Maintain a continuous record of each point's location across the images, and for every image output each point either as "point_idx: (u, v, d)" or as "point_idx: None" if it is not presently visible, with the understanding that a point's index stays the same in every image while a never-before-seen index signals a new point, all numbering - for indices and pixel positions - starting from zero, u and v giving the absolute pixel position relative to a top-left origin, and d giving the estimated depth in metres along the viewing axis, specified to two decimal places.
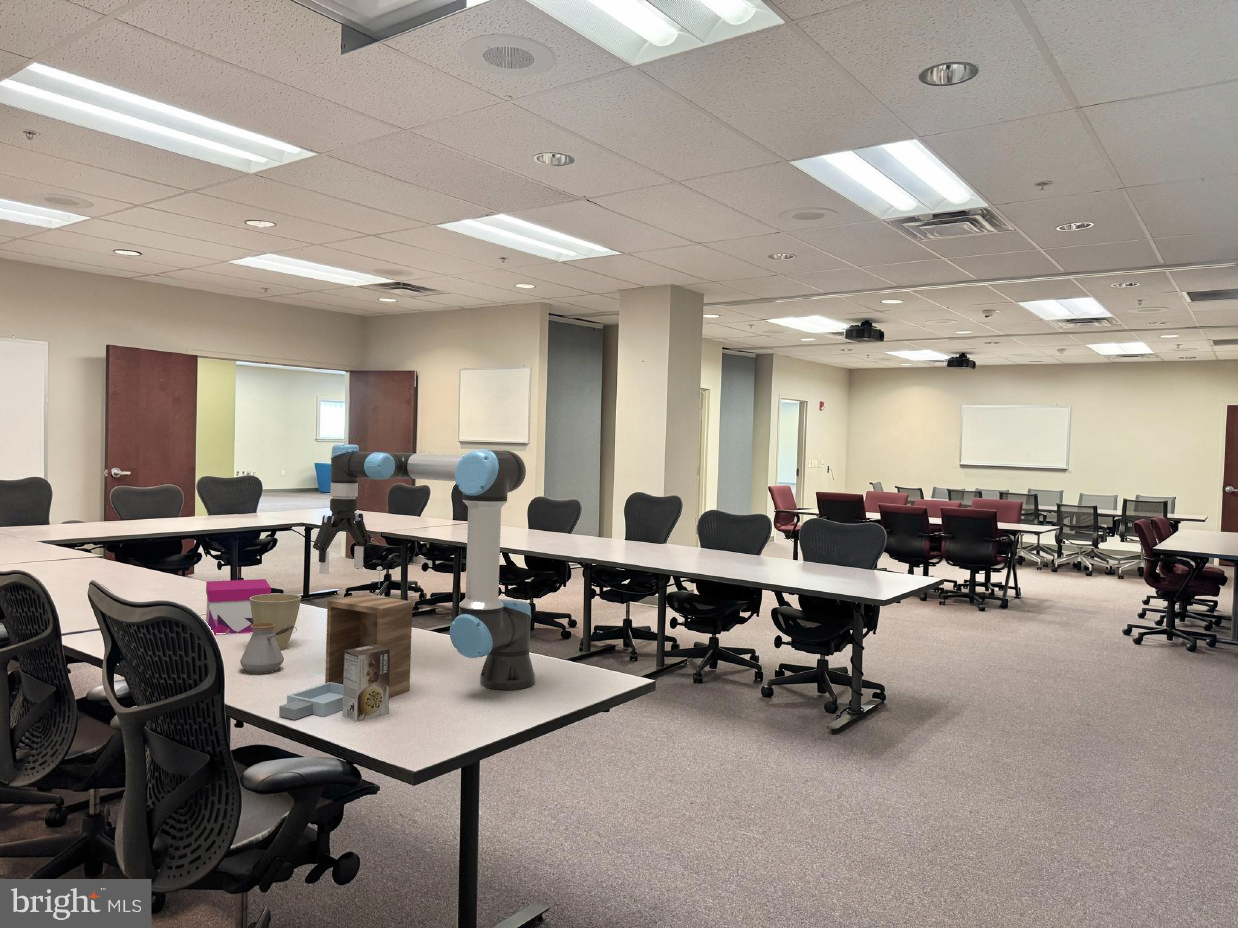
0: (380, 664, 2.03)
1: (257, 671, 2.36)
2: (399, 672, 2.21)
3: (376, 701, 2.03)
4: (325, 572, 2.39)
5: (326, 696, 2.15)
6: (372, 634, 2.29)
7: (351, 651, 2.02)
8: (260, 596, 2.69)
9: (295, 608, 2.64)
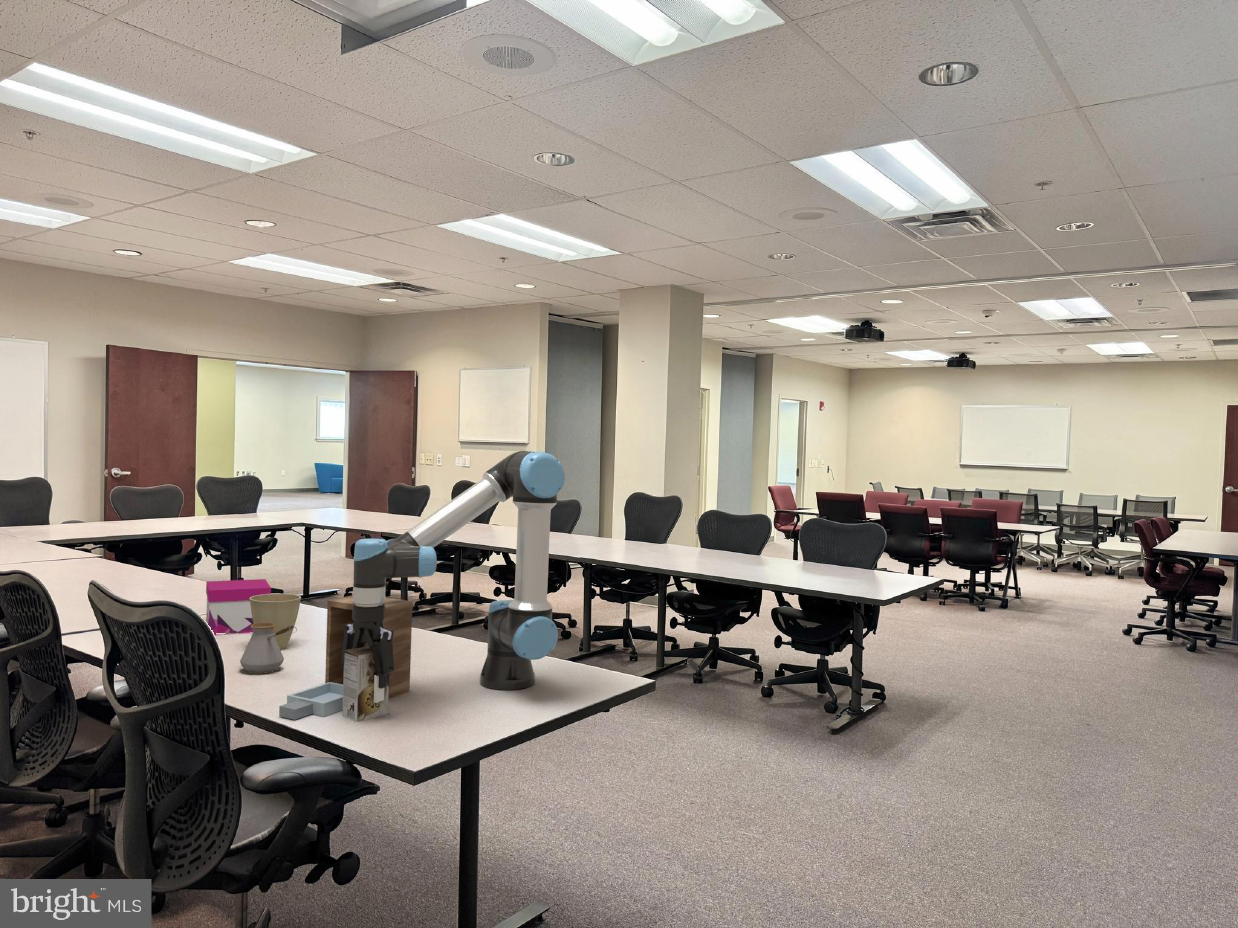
0: None
1: (257, 671, 2.36)
2: (399, 672, 2.21)
3: None
4: None
5: (326, 696, 2.15)
6: None
7: (351, 651, 2.02)
8: (260, 596, 2.69)
9: (295, 608, 2.64)
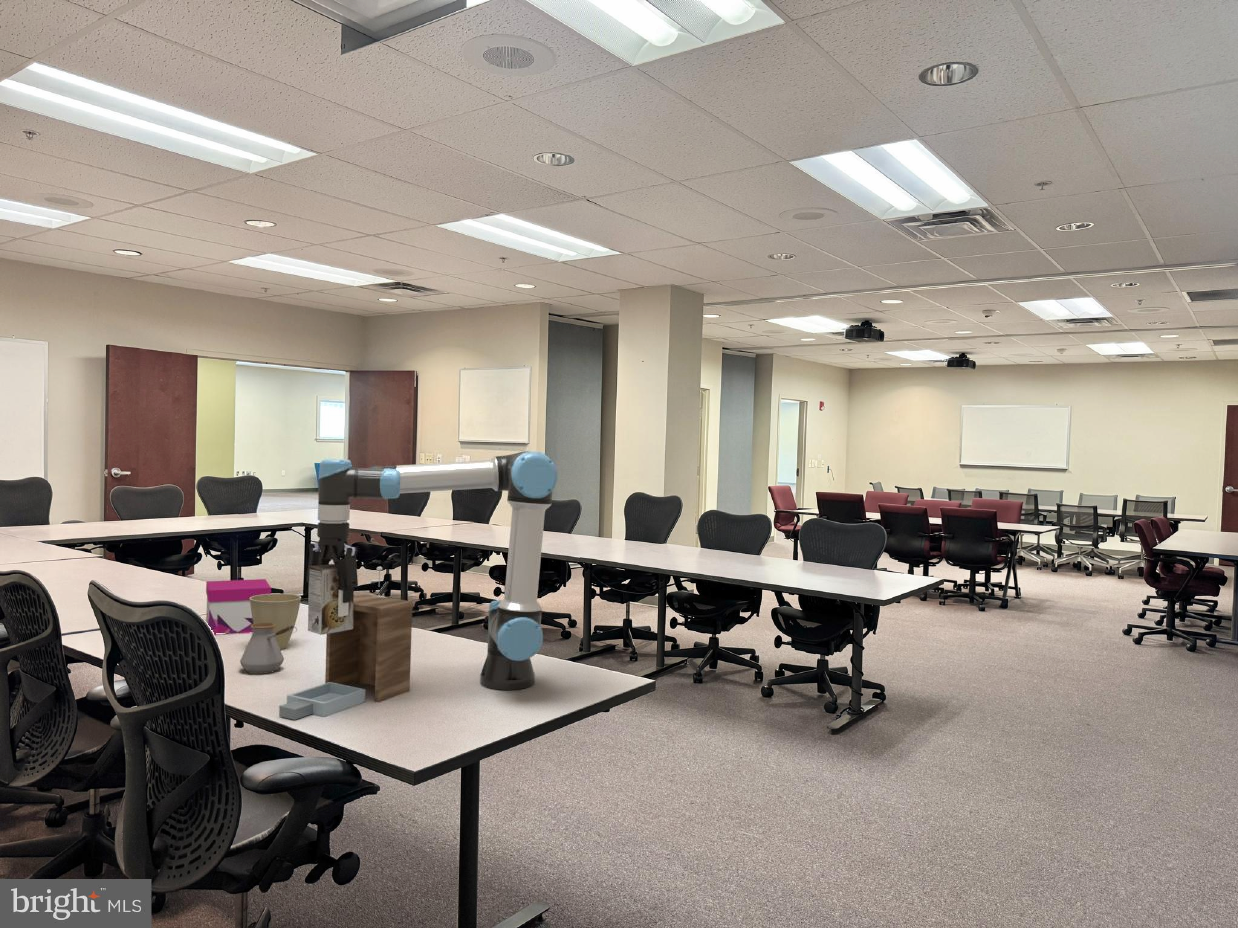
0: None
1: (257, 671, 2.36)
2: (399, 672, 2.21)
3: None
4: None
5: (326, 696, 2.15)
6: (372, 634, 2.29)
7: (316, 567, 2.08)
8: (260, 596, 2.69)
9: (295, 608, 2.64)
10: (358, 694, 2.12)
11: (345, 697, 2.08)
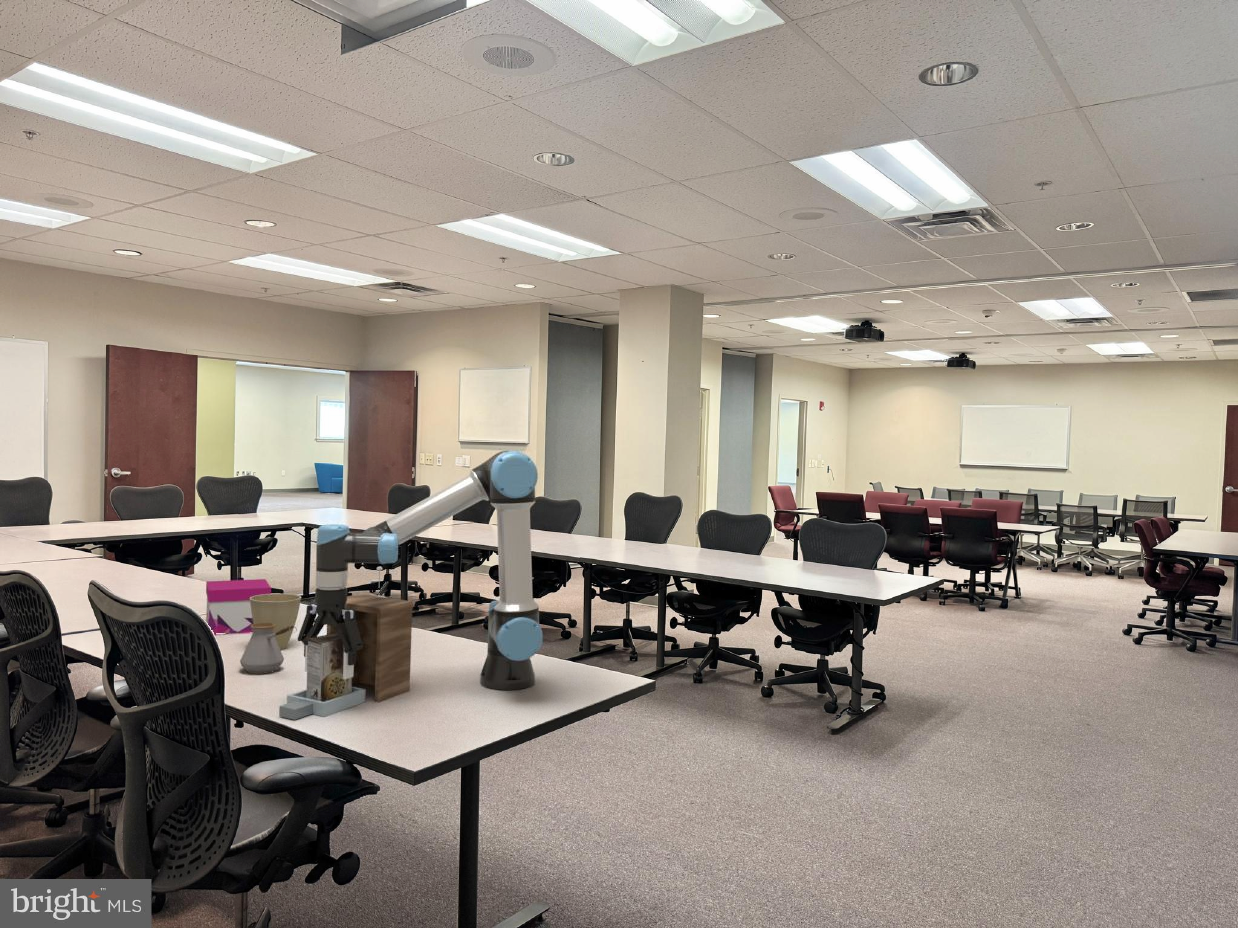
0: (343, 651, 2.10)
1: (257, 671, 2.36)
2: (399, 672, 2.21)
3: (339, 687, 2.09)
4: None
5: None
6: (372, 634, 2.29)
7: (314, 639, 2.08)
8: (260, 596, 2.69)
9: (295, 608, 2.64)
10: (358, 694, 2.12)
11: (345, 697, 2.08)
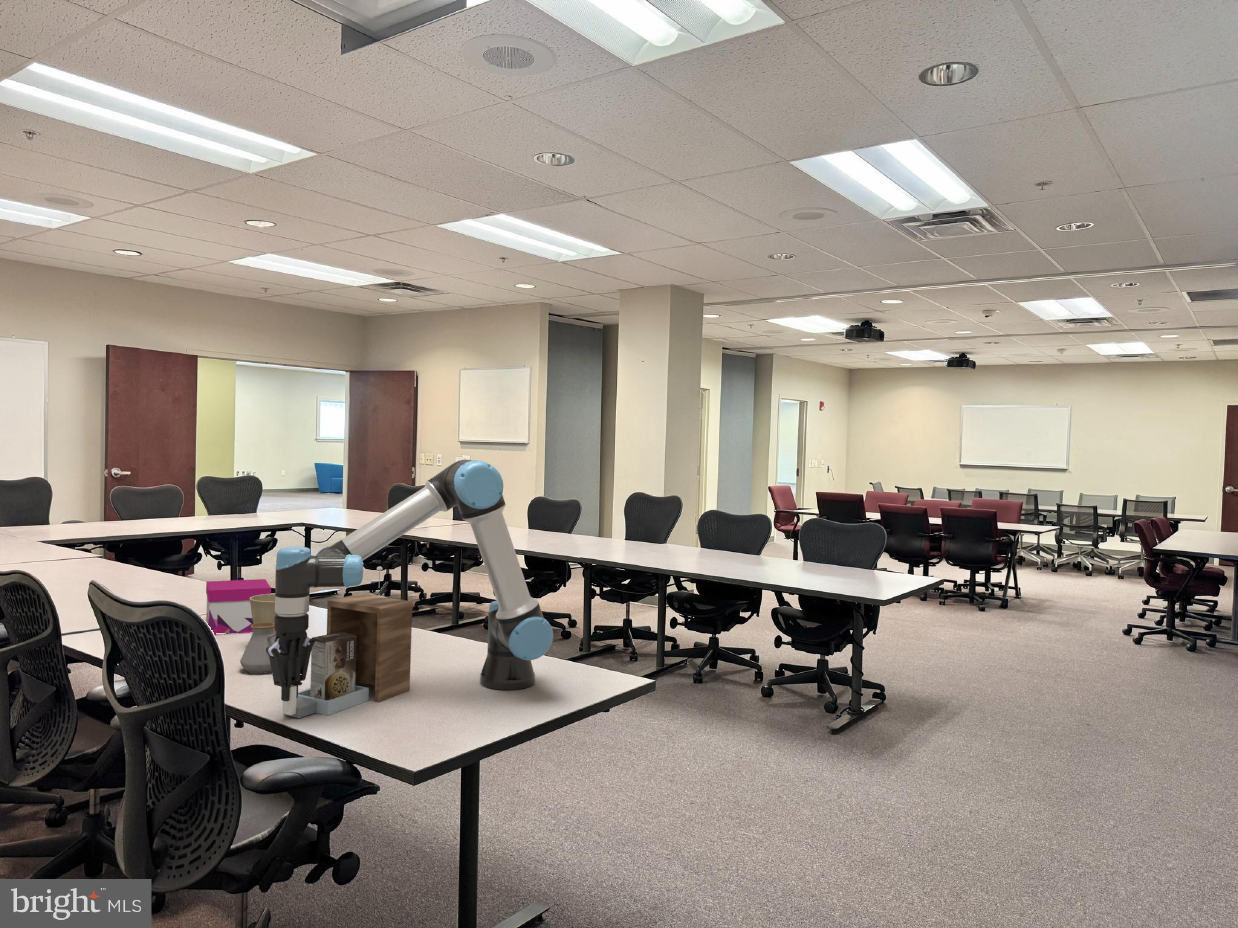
0: (346, 650, 2.11)
1: (257, 671, 2.36)
2: (399, 672, 2.21)
3: (343, 686, 2.11)
4: (289, 712, 1.99)
5: None
6: (372, 634, 2.29)
7: (318, 638, 2.09)
8: (260, 596, 2.69)
9: None
10: (362, 693, 2.13)
11: (349, 696, 2.09)
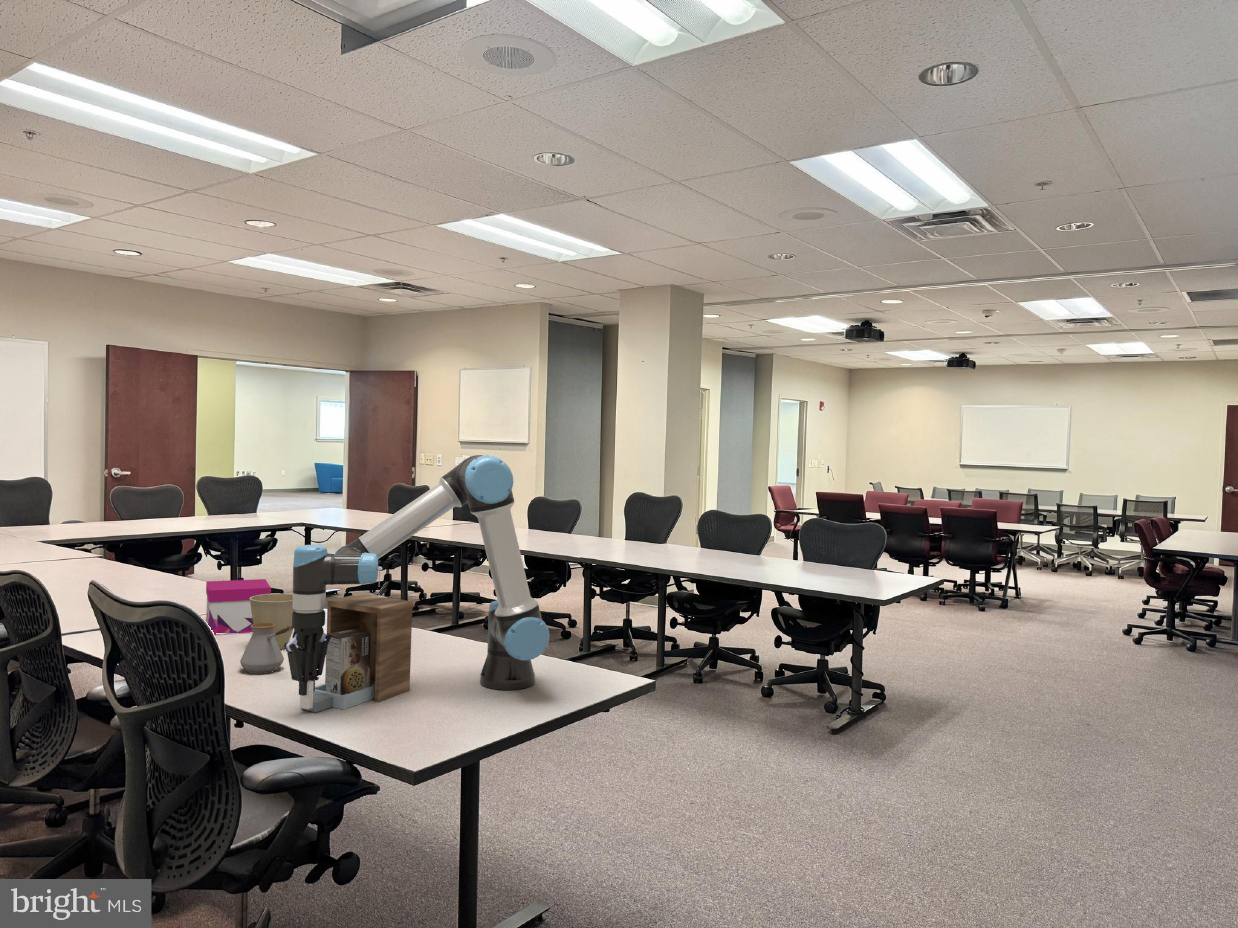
0: (361, 646, 2.16)
1: (257, 671, 2.36)
2: (399, 672, 2.21)
3: (358, 681, 2.15)
4: (306, 706, 2.03)
5: None
6: (372, 634, 2.29)
7: (334, 634, 2.14)
8: (260, 596, 2.69)
9: None
10: None
11: (364, 691, 2.14)
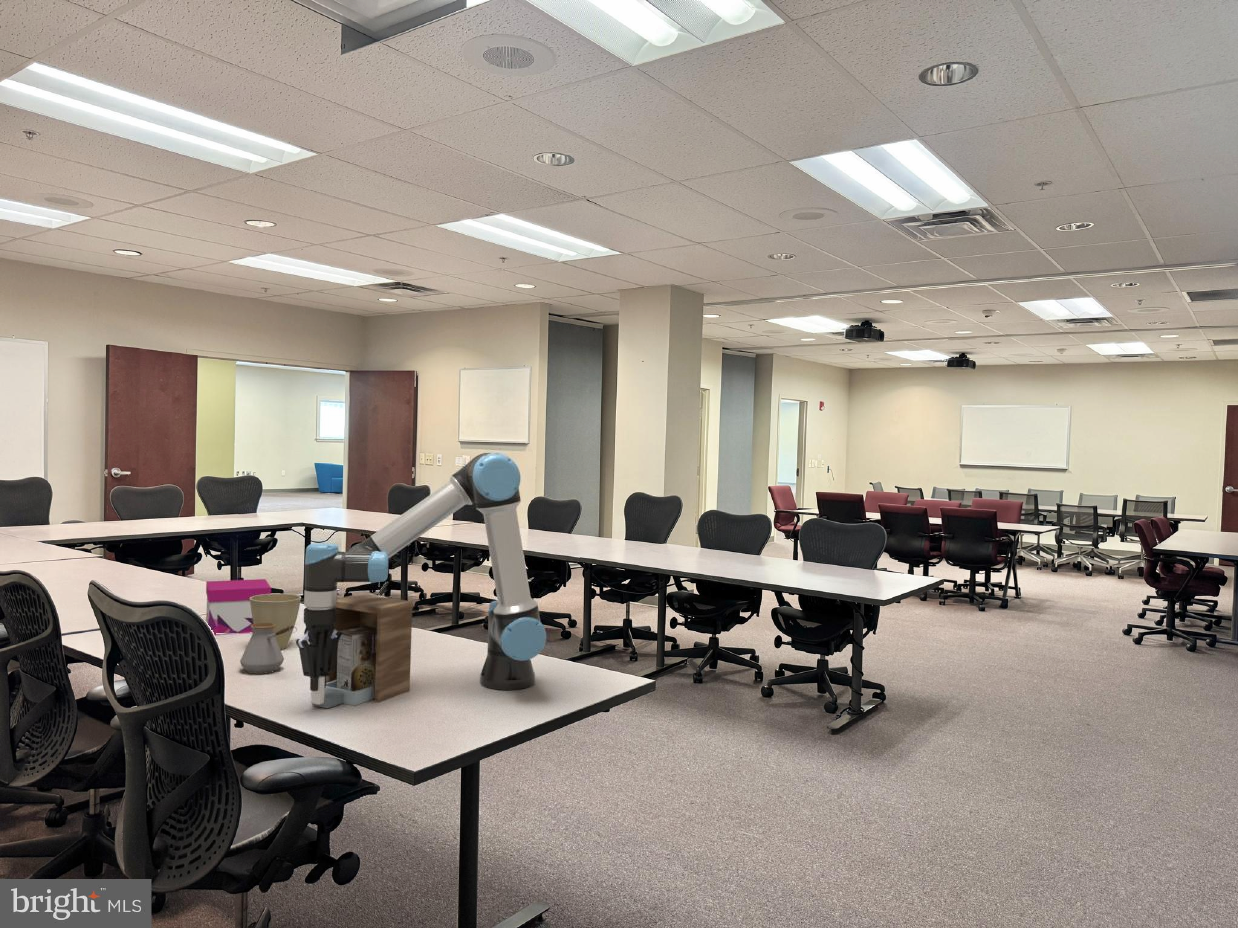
0: (371, 643, 2.19)
1: (257, 671, 2.36)
2: (399, 672, 2.21)
3: (368, 678, 2.19)
4: (318, 702, 2.07)
5: None
6: None
7: (345, 631, 2.17)
8: (260, 596, 2.69)
9: (295, 608, 2.64)
10: None
11: (374, 687, 2.17)
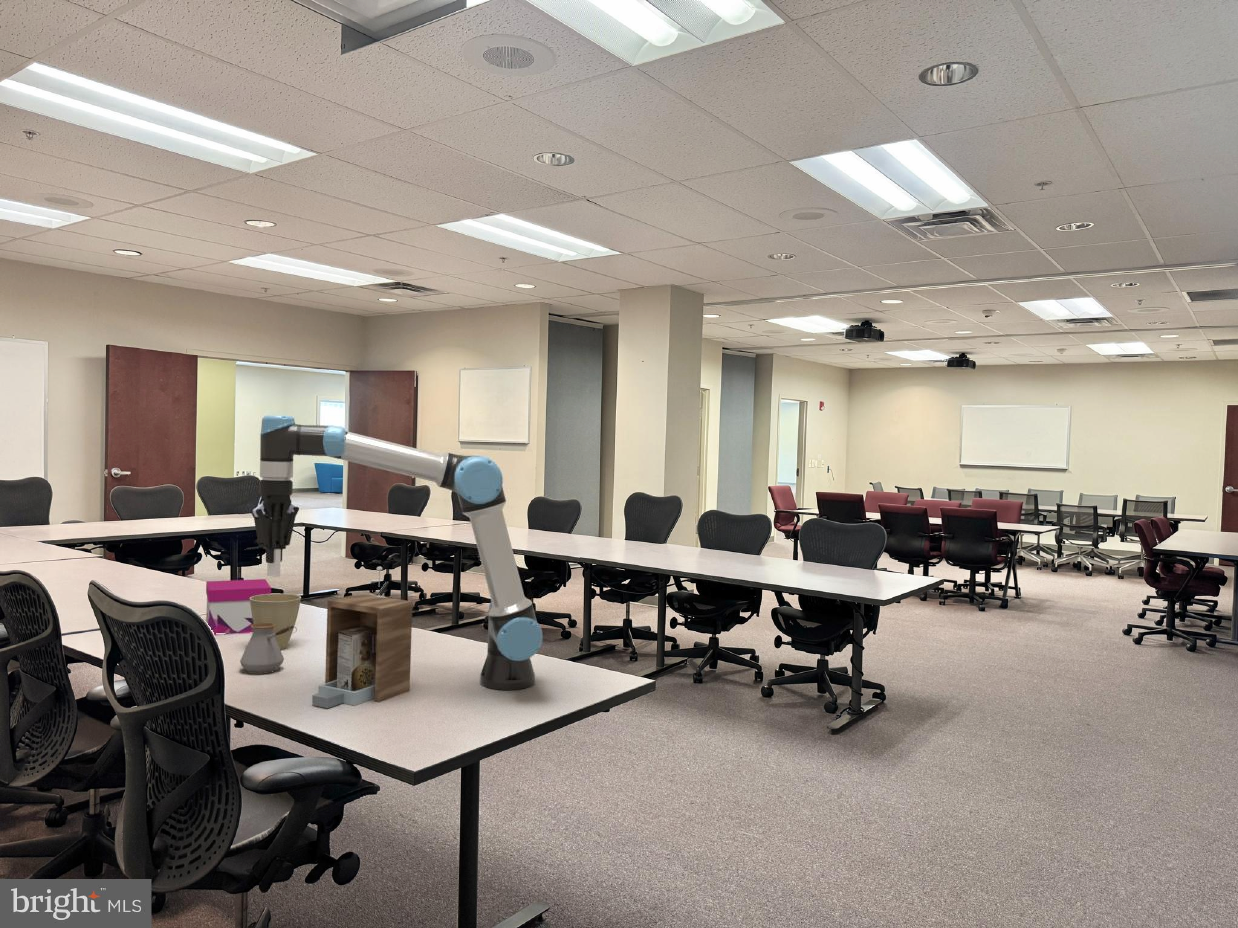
0: (372, 643, 2.19)
1: (257, 671, 2.36)
2: (399, 672, 2.21)
3: (368, 678, 2.19)
4: (273, 574, 2.06)
5: None
6: None
7: (345, 631, 2.17)
8: (260, 596, 2.69)
9: (295, 608, 2.64)
10: None
11: (374, 687, 2.17)
